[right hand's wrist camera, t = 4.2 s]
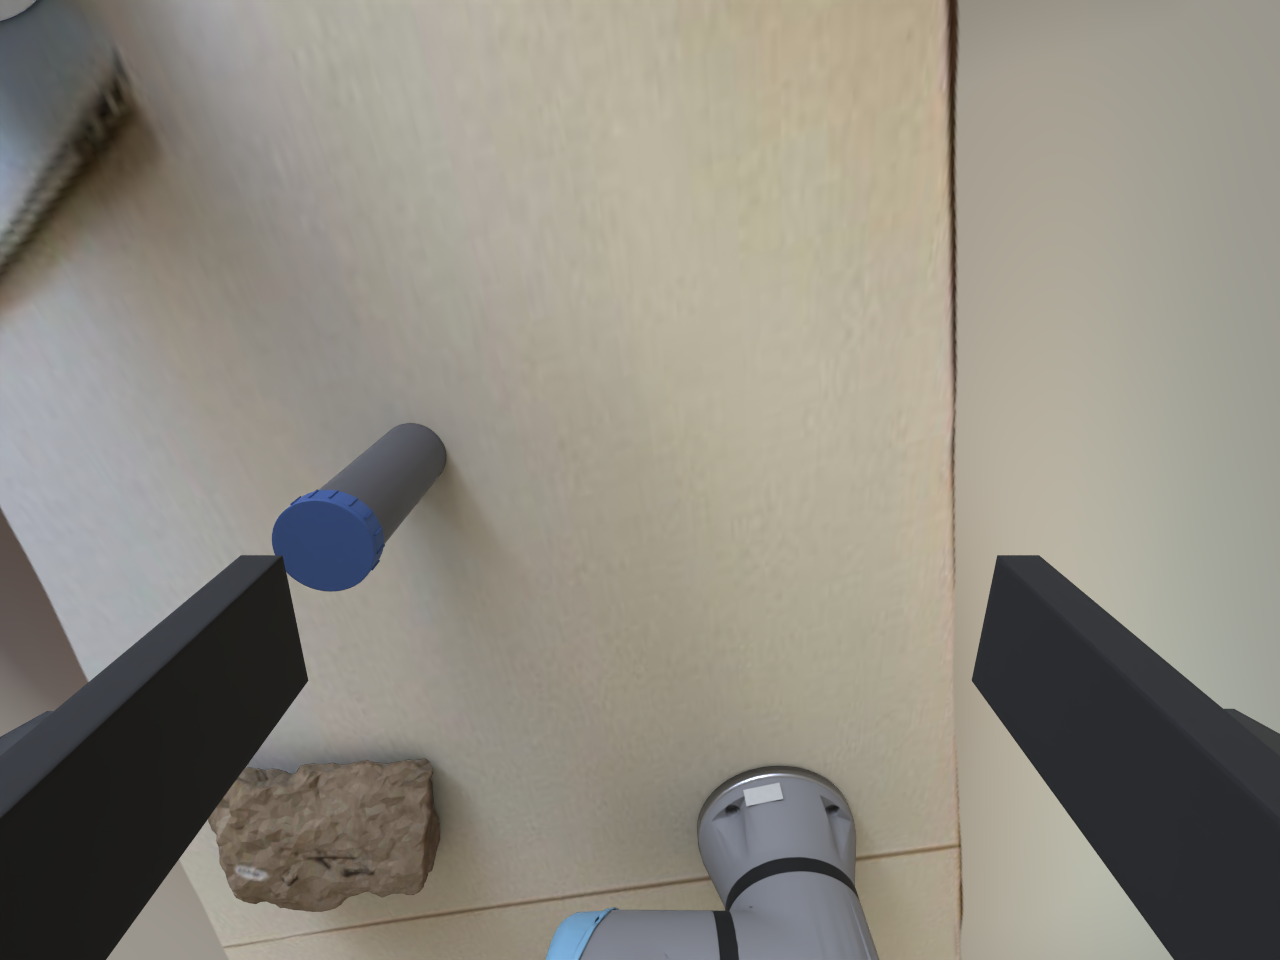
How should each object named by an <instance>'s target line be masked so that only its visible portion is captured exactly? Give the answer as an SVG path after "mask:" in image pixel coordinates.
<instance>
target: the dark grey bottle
mask: <svg viewBox="0 0 1280 960" xmlns="http://www.w3.org/2000/svg"><path fill="white" fill-rule="evenodd" d="M445 463H446V452H445V448H444V445H443V443H442V441H441V440H440V438H439V437H438V436H437V435H436V434H435V433H434V432H433V431H432V430H430V429H429V428H427V427H425V426H422V425H419V424H412V423H408V424H402V425H399V426H397V427H395V428H393V429H392V430H390V431H389V432H388V433H387V434H386V435H384V436H383V437H382V438H381V439H380V440H378V441H377V442H376V443H375V444H374V445H372V446H371V447H370V448H369V449H368V450H366V451H365V452H364V453H363V454H362V455H360V456H359V457H358V458H357V459H356V460H354V461H353V462H352V463H351V464H350V465H348V466H347V467H346V468H345V469H344V470H342V471H341V472H340V473H339V474H338V475H336V476H335V477H334V478H333V479H331V480H330V481H329V482H328V483H327V484H325V485H324V486H323V487H322V488H321V489H319V491H320V490H335V491H336V490H338V491H340V492H344V493H347V494H349V495H352V496H354V497H357V498H358V499H359V500H360V501H362V502H363V503H365V504H366V505H367V506H368V507H369V508H370V509H371V510H373V513H374V514H375V515H376V517H377V518H378V520H379V522H380V524H381V527H383V529H382V530H383V536H384V544H385V543H386V542H387V540H388V539H389V538H390V537H391V535H392V534H393V533H394V532H395V530H396V529H397V528H398V526H399V525H400V524H401V523H402V521H403V520H404V519H405V518H406V516H407V515H408V514H409V513H410V511H411V510H412V509H413V508H414V506H415V505H416V504H417V503H418V501H419V500H420V499H421V498H422V496H423V495H424V494H425V493H426V491H427V490H428V489H429V488H430V486H431V485H432V484H433V482H434V481H435V480H436V479H437V477H438V476H439V475H440V474H441V472H442V471H443V469H444V466H445Z"/></svg>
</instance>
